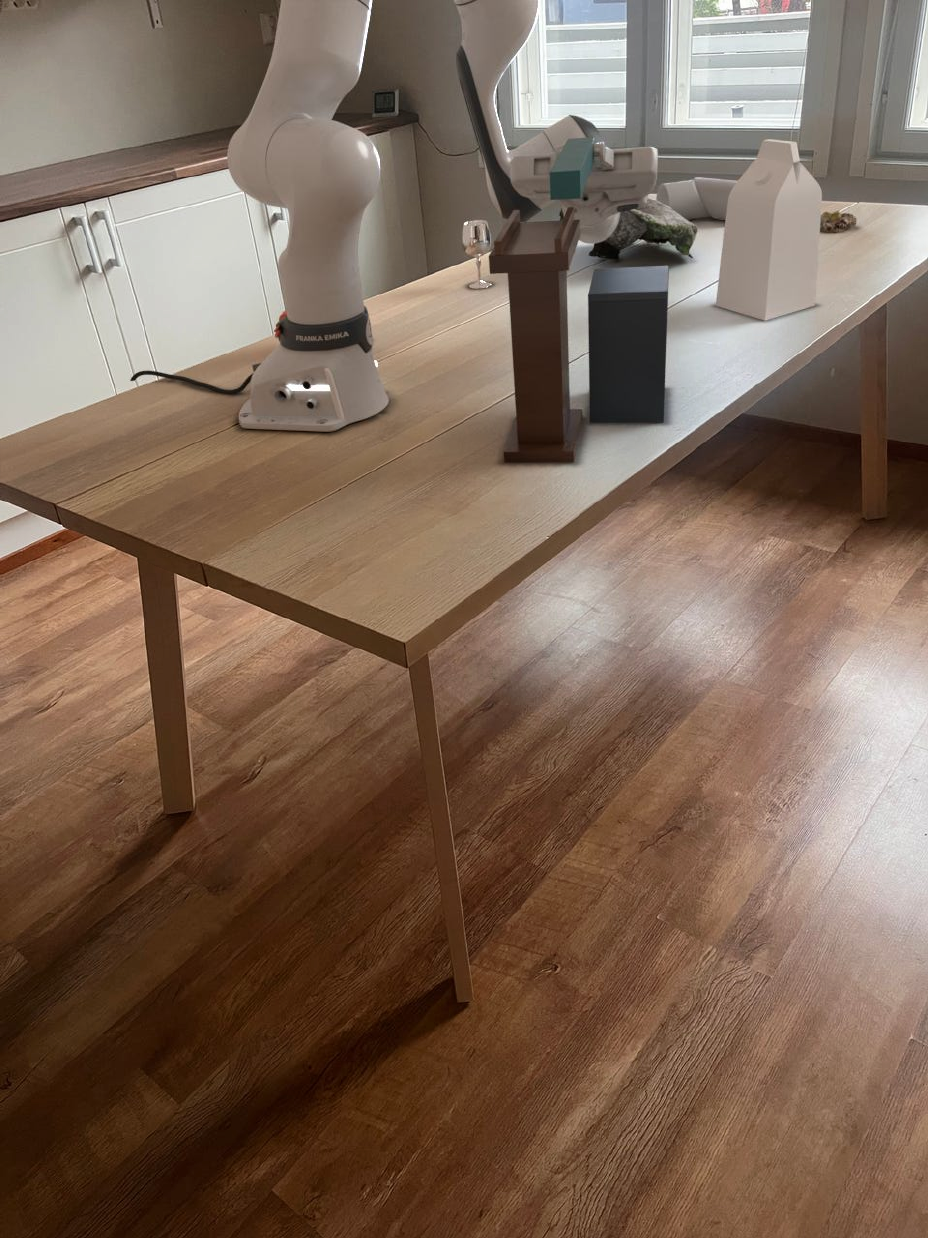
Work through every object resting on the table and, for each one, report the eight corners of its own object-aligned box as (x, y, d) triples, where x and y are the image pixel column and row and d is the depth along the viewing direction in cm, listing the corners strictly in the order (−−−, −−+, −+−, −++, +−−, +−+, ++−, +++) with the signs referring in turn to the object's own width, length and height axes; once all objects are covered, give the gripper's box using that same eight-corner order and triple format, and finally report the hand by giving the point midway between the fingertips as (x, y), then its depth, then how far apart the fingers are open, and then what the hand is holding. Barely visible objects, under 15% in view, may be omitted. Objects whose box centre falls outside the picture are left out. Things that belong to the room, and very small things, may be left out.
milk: (815, 305, 164) (835, 138, 149) (765, 320, 160) (780, 150, 145) (764, 291, 173) (778, 132, 158) (715, 305, 169) (725, 143, 154)
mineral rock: (861, 211, 206) (856, 209, 199) (858, 233, 207) (853, 231, 200) (809, 212, 210) (802, 210, 204) (807, 234, 212) (800, 232, 205)
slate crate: (595, 390, 141) (594, 268, 131) (664, 389, 139) (668, 265, 129) (589, 423, 131) (587, 293, 121) (663, 422, 129) (668, 291, 119)
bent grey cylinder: (732, 200, 230) (652, 211, 228) (739, 155, 222) (657, 166, 220) (762, 232, 218) (678, 244, 216) (770, 185, 210) (684, 197, 208)
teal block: (568, 163, 129) (567, 138, 127) (594, 161, 128) (594, 136, 126) (550, 199, 110) (549, 171, 109) (580, 198, 110) (580, 169, 108)
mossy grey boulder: (535, 241, 188) (549, 159, 184) (569, 266, 216) (582, 196, 212) (682, 259, 180) (700, 174, 176) (698, 283, 207) (713, 210, 204)
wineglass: (463, 289, 191) (457, 226, 184) (469, 281, 195) (464, 219, 189) (490, 289, 190) (486, 225, 183) (496, 281, 194) (492, 218, 187)
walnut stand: (519, 416, 135) (508, 210, 120) (583, 415, 133) (579, 206, 118) (503, 465, 122) (487, 241, 107) (573, 465, 120) (567, 237, 105)
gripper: (517, 169, 140) (502, 130, 127) (658, 160, 136) (658, 119, 123) (516, 213, 141) (501, 179, 127) (657, 206, 137) (657, 169, 123)
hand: (579, 149), depth 125 cm, fingers closed on teal block, 3 cm apart
